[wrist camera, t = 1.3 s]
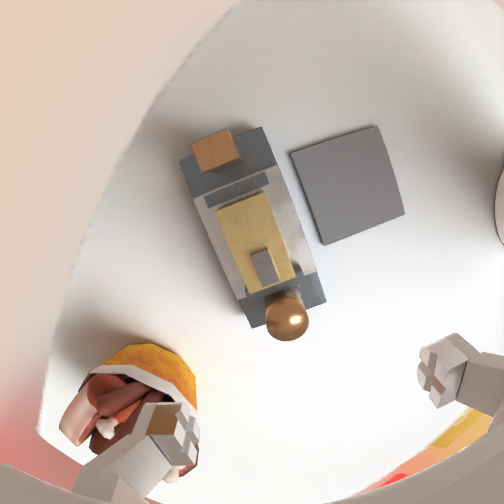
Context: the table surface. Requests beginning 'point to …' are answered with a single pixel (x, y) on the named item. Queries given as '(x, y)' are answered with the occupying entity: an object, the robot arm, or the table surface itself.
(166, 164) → the table surface
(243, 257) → the tan rectangular block
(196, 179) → the hand plane
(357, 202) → the mat
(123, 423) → the fried chicken
